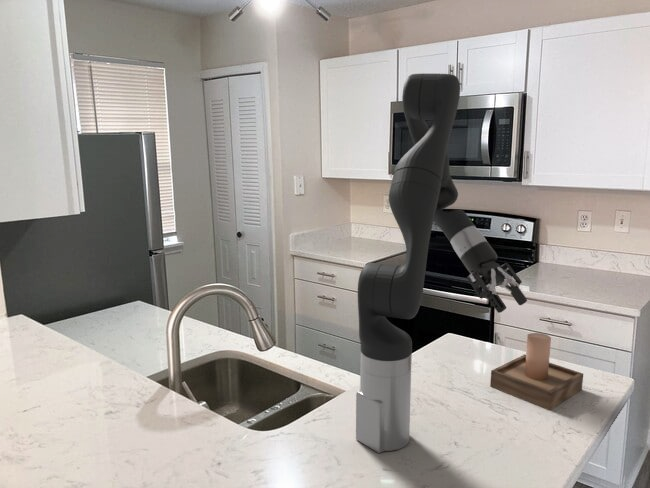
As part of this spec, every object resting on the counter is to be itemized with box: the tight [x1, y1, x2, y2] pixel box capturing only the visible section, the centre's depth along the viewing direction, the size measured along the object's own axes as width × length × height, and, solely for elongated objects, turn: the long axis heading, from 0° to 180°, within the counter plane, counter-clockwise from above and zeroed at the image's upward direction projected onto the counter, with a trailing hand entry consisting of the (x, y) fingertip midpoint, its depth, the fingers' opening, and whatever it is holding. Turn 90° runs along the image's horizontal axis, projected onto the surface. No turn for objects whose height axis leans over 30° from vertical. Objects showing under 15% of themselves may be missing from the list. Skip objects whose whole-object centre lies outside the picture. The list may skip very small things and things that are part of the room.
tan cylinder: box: [525, 332, 552, 380], centre depth 118 cm, size 5×5×9 cm
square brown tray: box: [489, 353, 584, 411], centre depth 118 cm, size 14×14×4 cm
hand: (513, 307), depth 121 cm, fingers open, 8 cm apart
